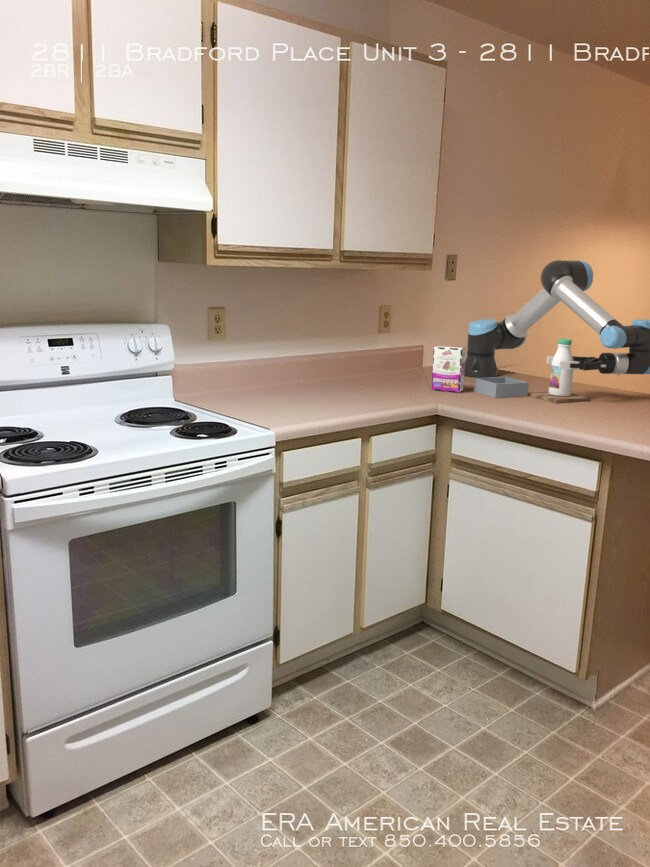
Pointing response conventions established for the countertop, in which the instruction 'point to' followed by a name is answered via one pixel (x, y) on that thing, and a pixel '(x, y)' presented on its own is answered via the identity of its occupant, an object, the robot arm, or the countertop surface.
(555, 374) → the milk bottle
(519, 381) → the box
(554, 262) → the robot arm
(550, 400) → the walnut board
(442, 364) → the candy bar box
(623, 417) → the countertop surface
